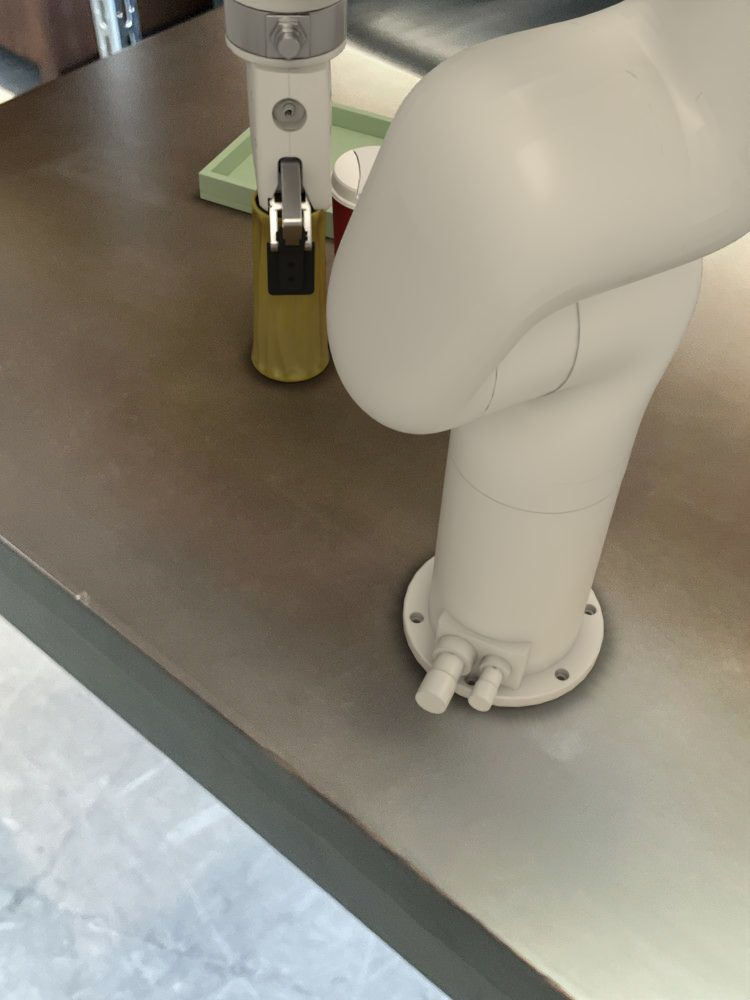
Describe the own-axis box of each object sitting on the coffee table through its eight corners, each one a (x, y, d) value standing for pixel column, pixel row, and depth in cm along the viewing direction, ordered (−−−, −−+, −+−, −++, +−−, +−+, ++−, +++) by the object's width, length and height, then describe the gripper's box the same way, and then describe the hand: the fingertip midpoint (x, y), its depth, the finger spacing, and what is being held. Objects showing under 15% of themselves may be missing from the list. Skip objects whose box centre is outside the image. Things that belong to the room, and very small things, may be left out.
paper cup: (410, 360, 90) (423, 205, 80) (315, 344, 91) (316, 189, 81) (427, 301, 95) (441, 148, 85) (337, 287, 96) (340, 134, 86)
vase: (344, 352, 91) (349, 193, 80) (300, 394, 87) (299, 233, 77) (281, 324, 93) (278, 166, 82) (235, 364, 89) (226, 204, 79)
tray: (354, 245, 101) (355, 219, 99) (200, 198, 105) (198, 173, 103) (432, 153, 112) (434, 129, 110) (289, 114, 116) (289, 89, 114)
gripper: (358, 86, 65) (349, 326, 77) (337, -42, 76) (332, 185, 89) (224, 86, 64) (237, 329, 77) (223, -43, 76) (235, 186, 88)
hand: (288, 251), depth 83 cm, fingers open, 9 cm apart
